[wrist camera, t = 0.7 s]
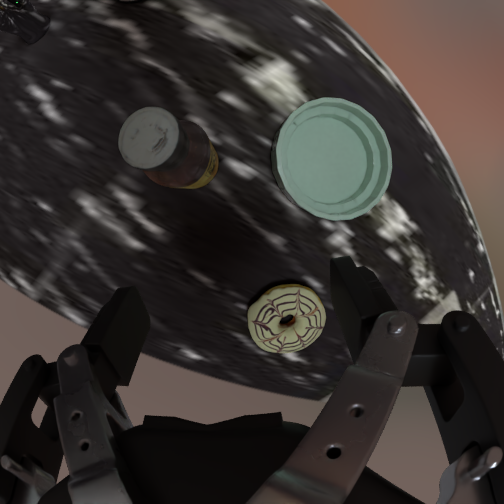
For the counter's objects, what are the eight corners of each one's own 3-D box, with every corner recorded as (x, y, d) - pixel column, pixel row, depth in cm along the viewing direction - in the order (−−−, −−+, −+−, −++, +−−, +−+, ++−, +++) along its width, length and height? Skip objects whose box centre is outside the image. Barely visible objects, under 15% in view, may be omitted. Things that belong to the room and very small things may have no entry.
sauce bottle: (226, 176, 35) (220, 170, 16) (181, 196, 35) (126, 214, 16) (207, 130, 33) (180, 76, 14) (163, 150, 33) (92, 123, 14)
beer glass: (56, 25, 25) (11, -9, 11) (27, 53, 26) (-23, 28, 11) (48, 9, 24) (7, -23, 9) (21, 35, 24) (-24, 10, 10)
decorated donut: (232, 306, 39) (233, 318, 36) (297, 264, 38) (304, 273, 35) (271, 355, 42) (275, 369, 38) (331, 318, 41) (339, 330, 37)
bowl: (252, 127, 33) (255, 119, 29) (350, 96, 33) (366, 86, 28) (295, 231, 37) (304, 239, 32) (386, 193, 37) (405, 195, 32)
